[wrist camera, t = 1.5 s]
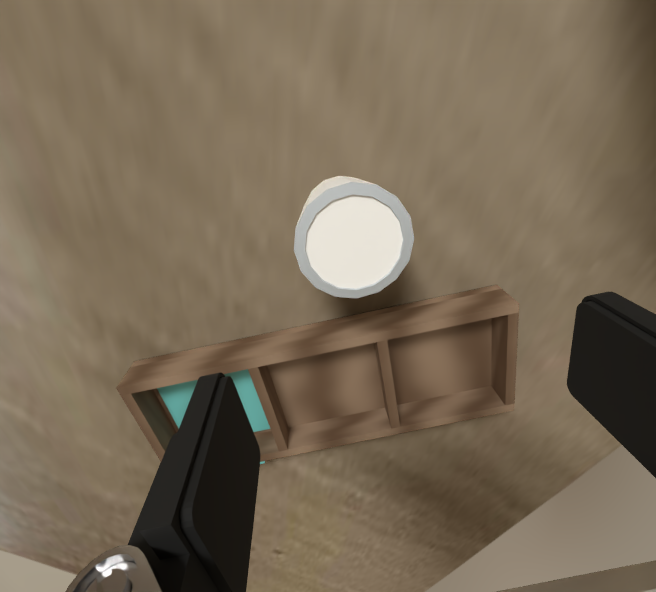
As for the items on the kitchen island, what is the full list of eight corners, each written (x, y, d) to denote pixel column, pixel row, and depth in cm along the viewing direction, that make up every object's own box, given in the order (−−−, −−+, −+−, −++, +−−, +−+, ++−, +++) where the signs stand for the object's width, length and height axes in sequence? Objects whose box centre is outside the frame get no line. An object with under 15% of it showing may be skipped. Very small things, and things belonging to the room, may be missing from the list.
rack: (496, 284, 30) (519, 303, 27) (495, 388, 35) (513, 414, 32) (134, 361, 31) (116, 388, 28) (184, 452, 36) (174, 483, 33)
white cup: (401, 183, 26) (434, 204, 19) (367, 269, 28) (387, 311, 22) (310, 152, 24) (314, 164, 18) (284, 245, 27) (279, 283, 21)
